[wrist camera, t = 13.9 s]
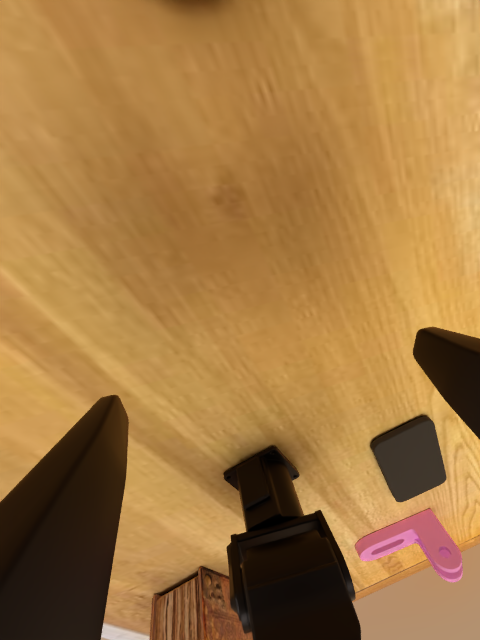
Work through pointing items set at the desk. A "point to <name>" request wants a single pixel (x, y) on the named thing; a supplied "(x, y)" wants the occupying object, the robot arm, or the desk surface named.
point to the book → (197, 611)
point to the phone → (410, 459)
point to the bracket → (422, 532)
